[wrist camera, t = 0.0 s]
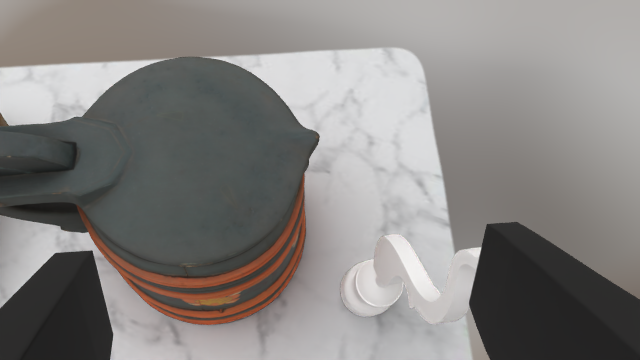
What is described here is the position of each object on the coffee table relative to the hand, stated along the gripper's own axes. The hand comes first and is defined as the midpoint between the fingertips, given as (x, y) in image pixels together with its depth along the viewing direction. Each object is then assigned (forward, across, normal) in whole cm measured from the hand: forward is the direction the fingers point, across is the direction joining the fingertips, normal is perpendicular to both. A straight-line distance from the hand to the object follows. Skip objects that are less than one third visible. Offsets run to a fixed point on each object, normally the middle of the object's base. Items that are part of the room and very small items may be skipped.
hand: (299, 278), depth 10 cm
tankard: (+28, +6, +19) cm, 34 cm away
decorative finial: (+23, -8, +23) cm, 33 cm away
